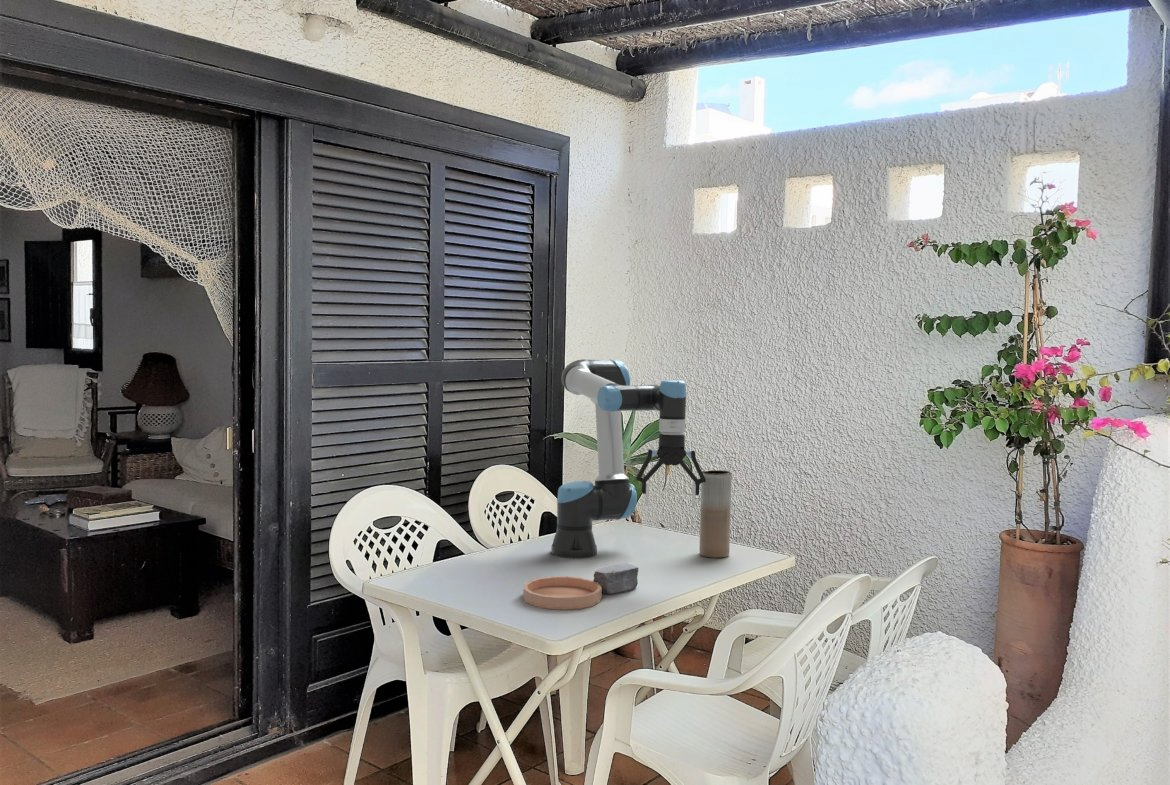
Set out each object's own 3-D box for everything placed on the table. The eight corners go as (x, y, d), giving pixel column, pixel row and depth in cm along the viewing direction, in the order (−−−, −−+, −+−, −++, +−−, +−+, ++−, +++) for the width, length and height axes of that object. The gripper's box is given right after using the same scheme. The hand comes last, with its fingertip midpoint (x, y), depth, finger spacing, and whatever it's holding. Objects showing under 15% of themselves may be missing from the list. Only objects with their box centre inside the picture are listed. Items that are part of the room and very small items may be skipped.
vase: (734, 557, 292) (736, 473, 290) (705, 558, 289) (708, 474, 288) (722, 550, 301) (724, 469, 300) (694, 551, 299) (697, 470, 297)
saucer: (507, 598, 240) (507, 587, 240) (558, 583, 256) (558, 572, 256) (566, 615, 227) (566, 602, 226) (616, 597, 243) (616, 586, 243)
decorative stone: (642, 587, 256) (611, 581, 260) (644, 563, 255) (612, 558, 259) (622, 600, 242) (589, 594, 247) (623, 575, 242) (590, 569, 246)
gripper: (629, 433, 255) (627, 506, 256) (716, 435, 254) (714, 509, 255) (629, 431, 262) (627, 502, 264) (713, 433, 261) (711, 504, 263)
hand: (670, 505), depth 259 cm, fingers open, 13 cm apart
